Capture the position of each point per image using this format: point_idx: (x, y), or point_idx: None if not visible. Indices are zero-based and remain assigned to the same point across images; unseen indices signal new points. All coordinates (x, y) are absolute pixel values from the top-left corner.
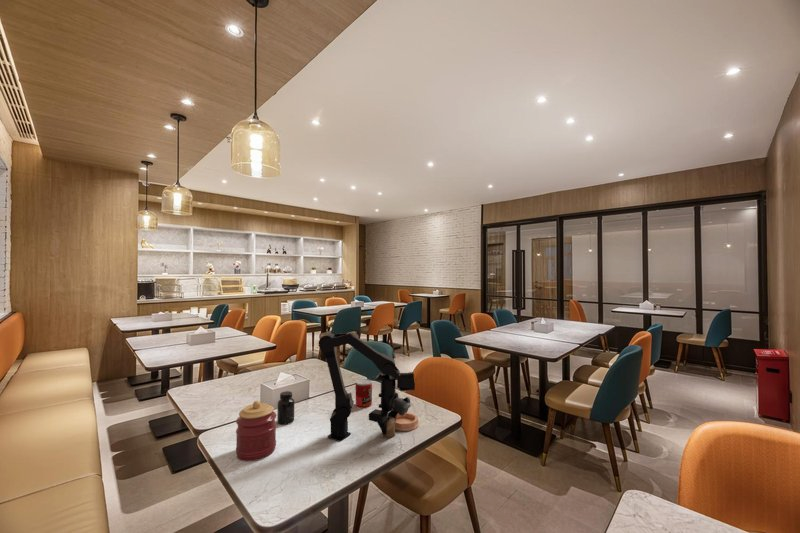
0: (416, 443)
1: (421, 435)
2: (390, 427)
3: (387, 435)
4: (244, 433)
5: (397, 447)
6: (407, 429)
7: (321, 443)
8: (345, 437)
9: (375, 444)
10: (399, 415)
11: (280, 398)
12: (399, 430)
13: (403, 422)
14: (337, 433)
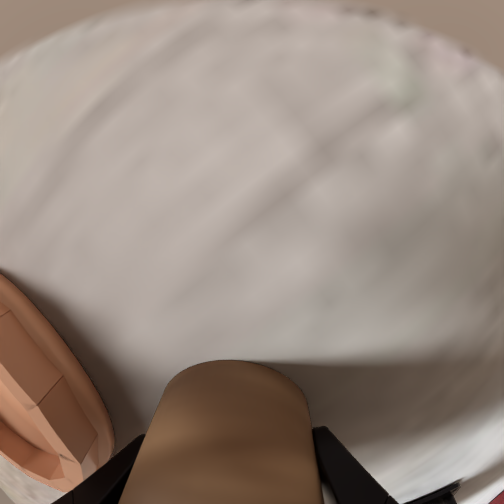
0: (177, 18)
1: (12, 121)
2: (278, 477)
3: (301, 409)
4: None
5: (418, 146)
6: (23, 308)
7: (477, 485)
8: (425, 498)
9: (456, 372)
10: (6, 444)
11: None
12: (85, 374)
13: (9, 394)
14: None
